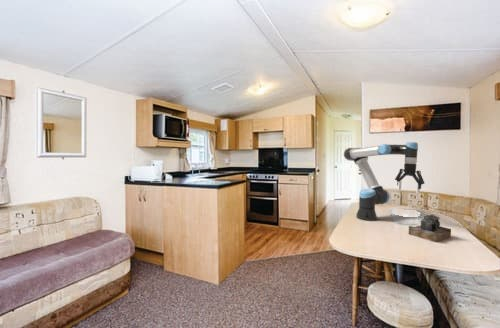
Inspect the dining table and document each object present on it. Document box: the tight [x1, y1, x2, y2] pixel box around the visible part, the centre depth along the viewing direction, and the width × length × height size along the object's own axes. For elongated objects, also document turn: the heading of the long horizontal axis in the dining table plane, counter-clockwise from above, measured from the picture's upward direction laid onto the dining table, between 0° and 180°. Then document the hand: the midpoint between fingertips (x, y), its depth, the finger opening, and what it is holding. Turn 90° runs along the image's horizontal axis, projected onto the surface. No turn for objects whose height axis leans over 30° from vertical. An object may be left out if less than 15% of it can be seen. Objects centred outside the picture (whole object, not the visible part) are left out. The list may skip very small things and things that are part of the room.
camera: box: [420, 213, 441, 232], centre depth 162 cm, size 13×10×10 cm
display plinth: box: [408, 224, 452, 243], centre depth 162 cm, size 16×18×6 cm
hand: (408, 191), depth 184 cm, fingers open, 13 cm apart
